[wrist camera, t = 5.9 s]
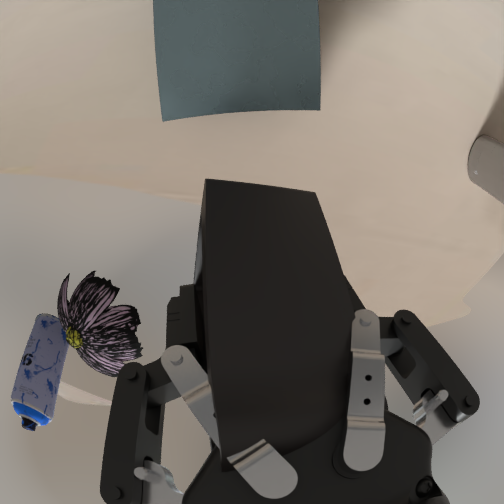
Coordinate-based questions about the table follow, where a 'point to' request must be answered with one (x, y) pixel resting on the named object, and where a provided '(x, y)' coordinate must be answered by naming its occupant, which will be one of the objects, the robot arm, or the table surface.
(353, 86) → the table surface
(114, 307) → the decorative flower
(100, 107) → the table surface
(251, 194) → the triangular clip stand
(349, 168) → the table surface
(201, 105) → the trolley
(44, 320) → the aerosol can
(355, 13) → the table surface
